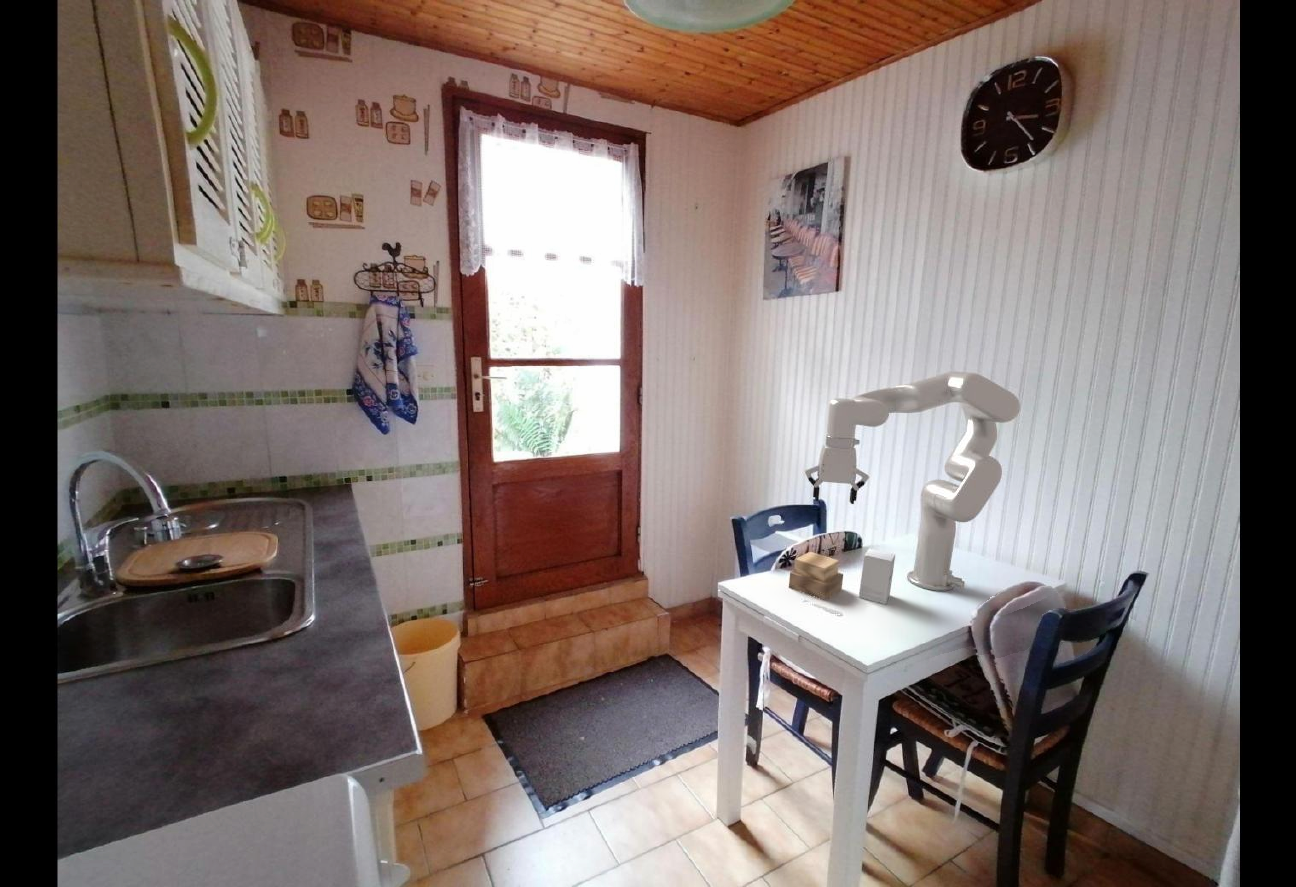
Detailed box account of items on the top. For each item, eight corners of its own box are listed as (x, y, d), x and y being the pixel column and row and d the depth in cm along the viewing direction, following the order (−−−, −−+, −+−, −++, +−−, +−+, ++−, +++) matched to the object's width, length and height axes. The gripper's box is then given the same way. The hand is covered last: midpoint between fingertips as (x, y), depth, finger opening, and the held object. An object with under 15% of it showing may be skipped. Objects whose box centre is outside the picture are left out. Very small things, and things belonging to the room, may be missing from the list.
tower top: (837, 573, 161) (838, 560, 160) (823, 582, 155) (824, 568, 154) (808, 564, 167) (809, 551, 166) (793, 572, 160) (795, 559, 160)
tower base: (841, 590, 162) (843, 574, 161) (824, 602, 154) (826, 584, 153) (806, 578, 169) (808, 562, 168) (788, 589, 161) (790, 572, 160)
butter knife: (840, 617, 144) (845, 613, 146) (760, 586, 161) (766, 583, 163) (839, 618, 144) (844, 615, 146) (760, 587, 161) (766, 585, 163)
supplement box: (886, 605, 153) (892, 561, 151) (858, 597, 157) (863, 554, 154) (890, 595, 159) (896, 553, 157) (863, 588, 163) (868, 547, 161)
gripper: (869, 442, 159) (863, 500, 162) (806, 438, 162) (801, 495, 165) (874, 447, 152) (868, 507, 155) (809, 443, 155) (803, 502, 158)
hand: (833, 501), depth 160 cm, fingers open, 9 cm apart
